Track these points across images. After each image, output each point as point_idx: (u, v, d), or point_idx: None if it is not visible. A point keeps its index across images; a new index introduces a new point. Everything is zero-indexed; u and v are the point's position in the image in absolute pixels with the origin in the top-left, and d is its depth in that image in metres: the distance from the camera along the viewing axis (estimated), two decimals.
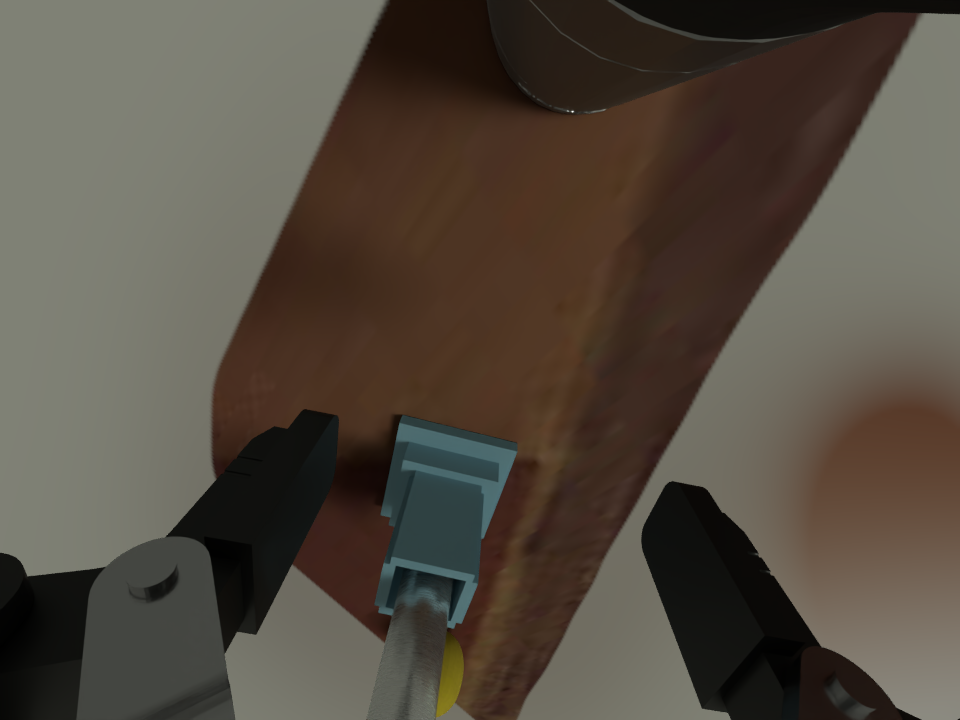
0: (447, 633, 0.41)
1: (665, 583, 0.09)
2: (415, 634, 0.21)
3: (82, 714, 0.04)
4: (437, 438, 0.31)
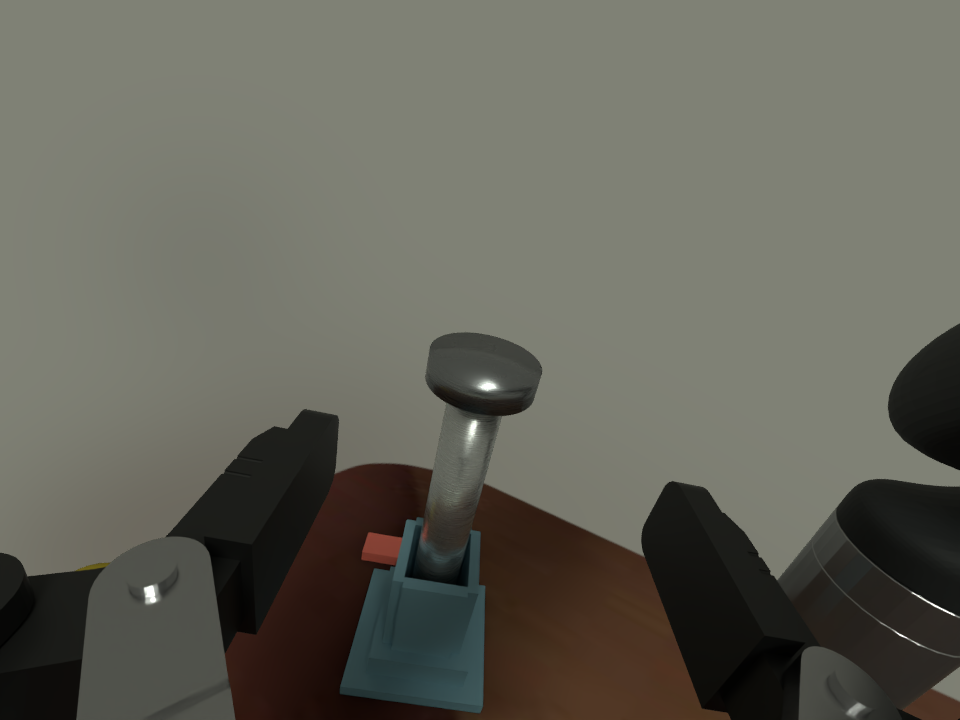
0: None
1: (665, 583, 0.09)
2: None
3: (82, 714, 0.04)
4: (477, 618, 0.34)
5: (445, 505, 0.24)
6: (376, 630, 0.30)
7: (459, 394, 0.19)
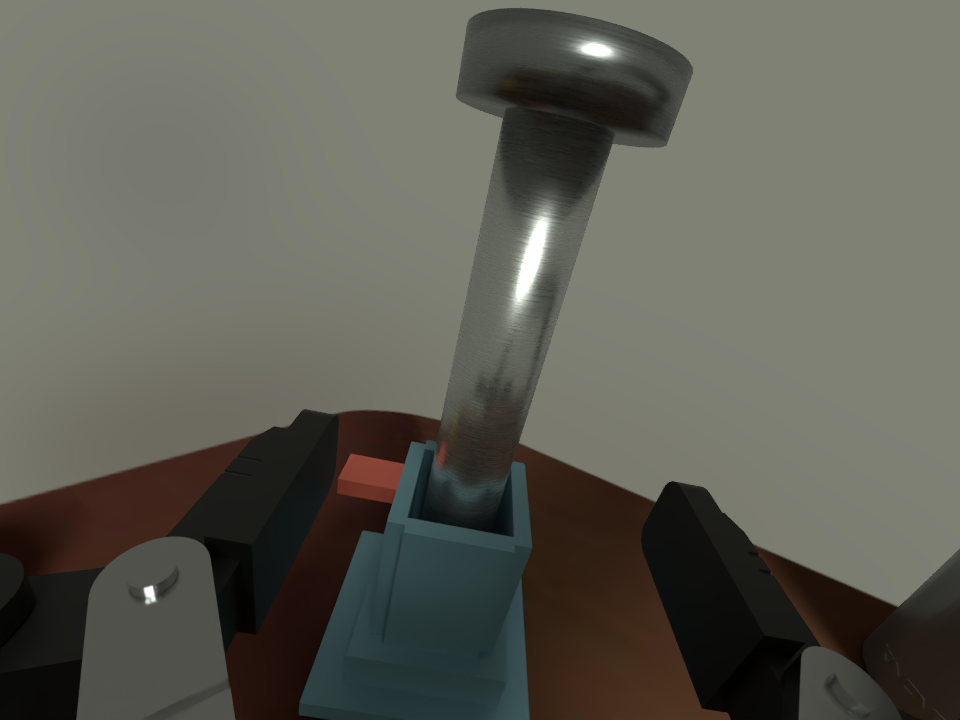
0: None
1: (665, 583, 0.09)
2: None
3: (83, 713, 0.04)
4: (513, 603, 0.23)
5: (483, 378, 0.14)
6: (361, 613, 0.19)
7: (538, 59, 0.09)
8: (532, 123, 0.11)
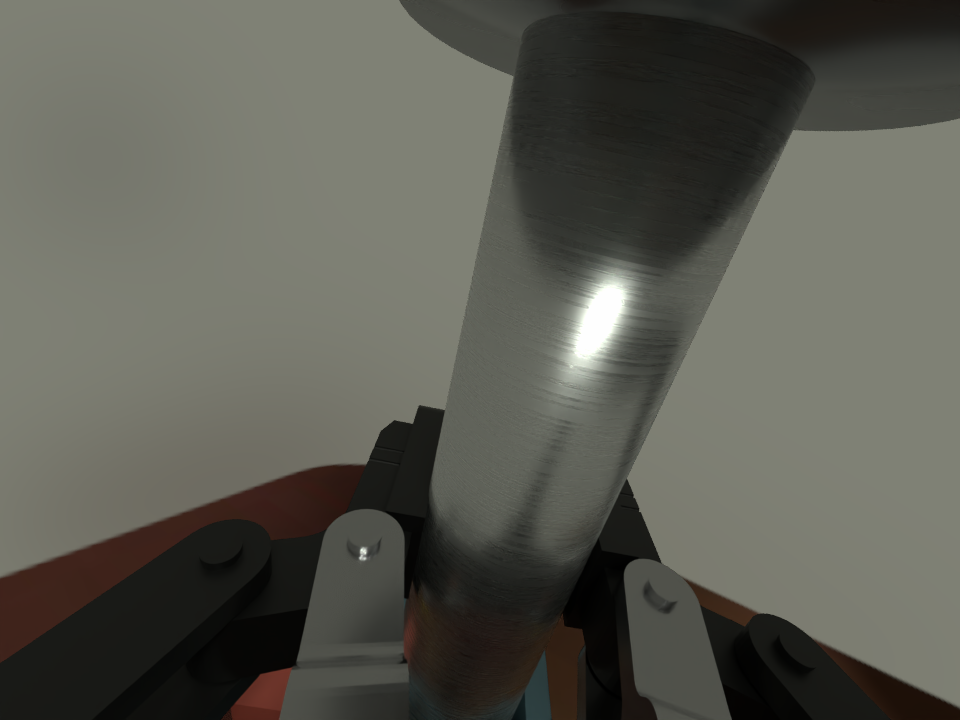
0: None
1: None
2: None
3: (307, 630, 0.05)
4: None
5: (474, 602, 0.07)
6: None
7: None
8: (607, 54, 0.04)
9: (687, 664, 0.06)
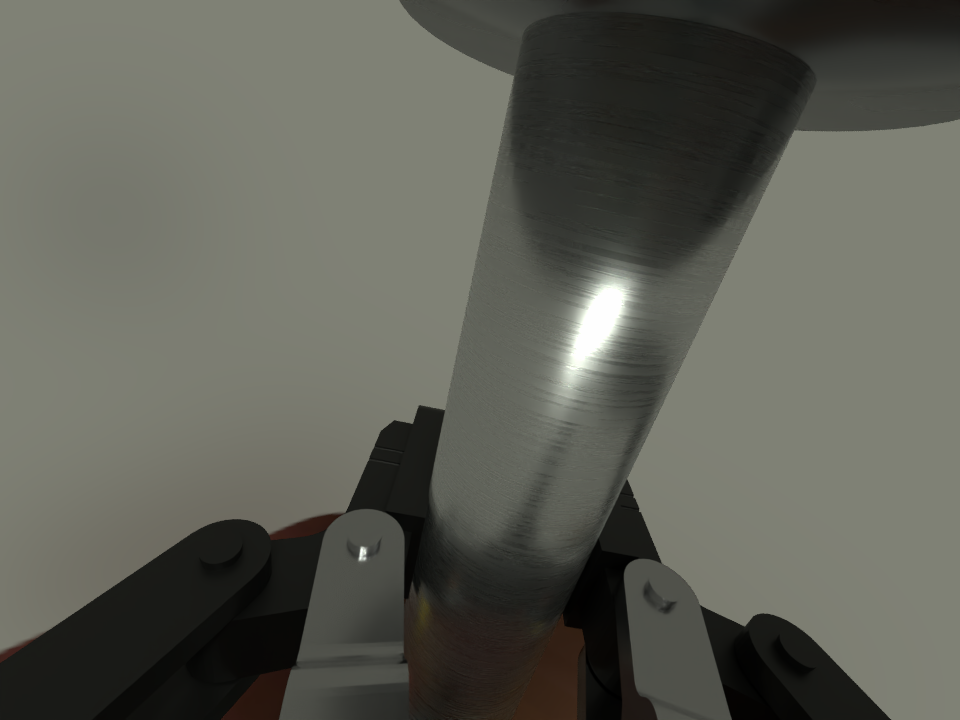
0: None
1: None
2: None
3: (307, 631, 0.05)
4: None
5: (473, 602, 0.07)
6: None
7: None
8: (608, 54, 0.04)
9: (686, 665, 0.06)
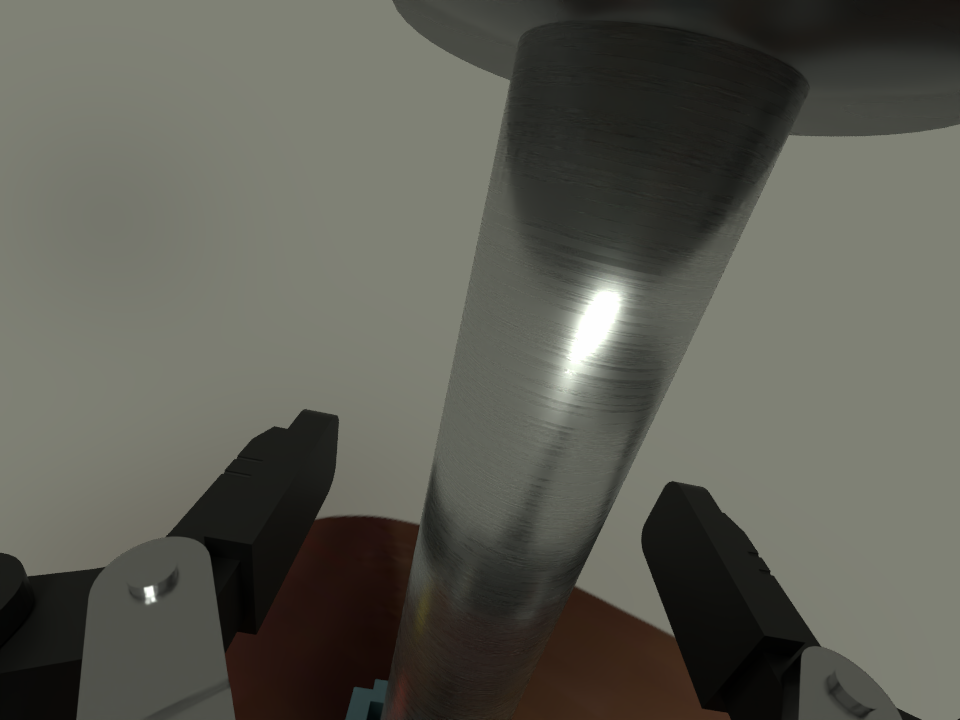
0: None
1: (665, 583, 0.09)
2: None
3: (81, 714, 0.04)
4: None
5: (471, 606, 0.07)
6: None
7: None
8: (602, 62, 0.04)
9: None
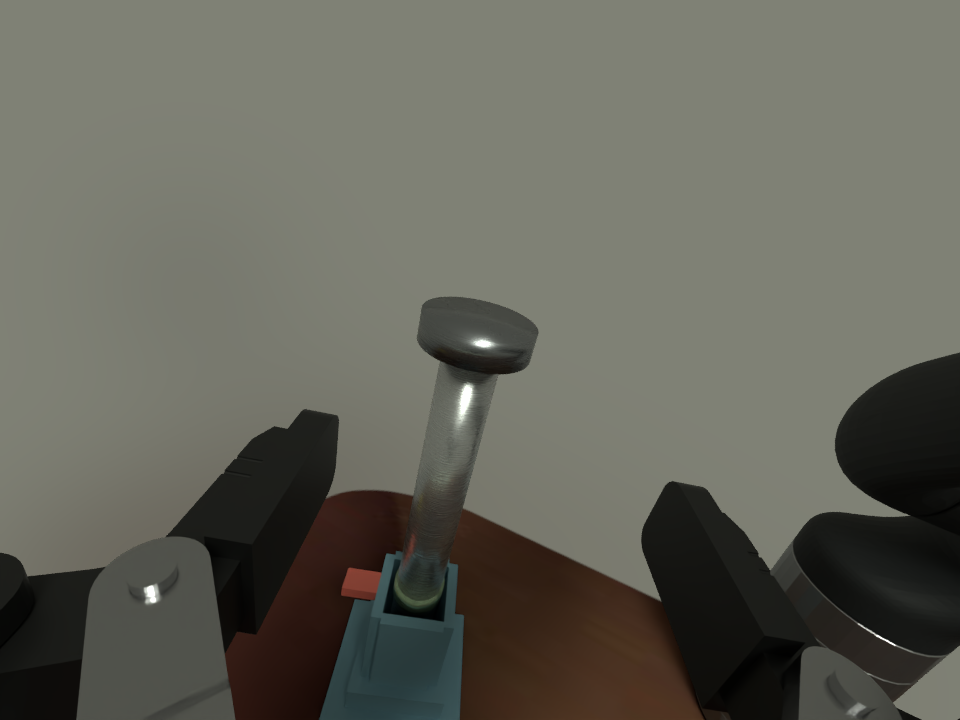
0: None
1: (665, 583, 0.09)
2: None
3: (83, 713, 0.04)
4: (455, 648, 0.35)
5: (436, 477, 0.23)
6: (355, 663, 0.31)
7: (453, 350, 0.19)
8: None
9: None
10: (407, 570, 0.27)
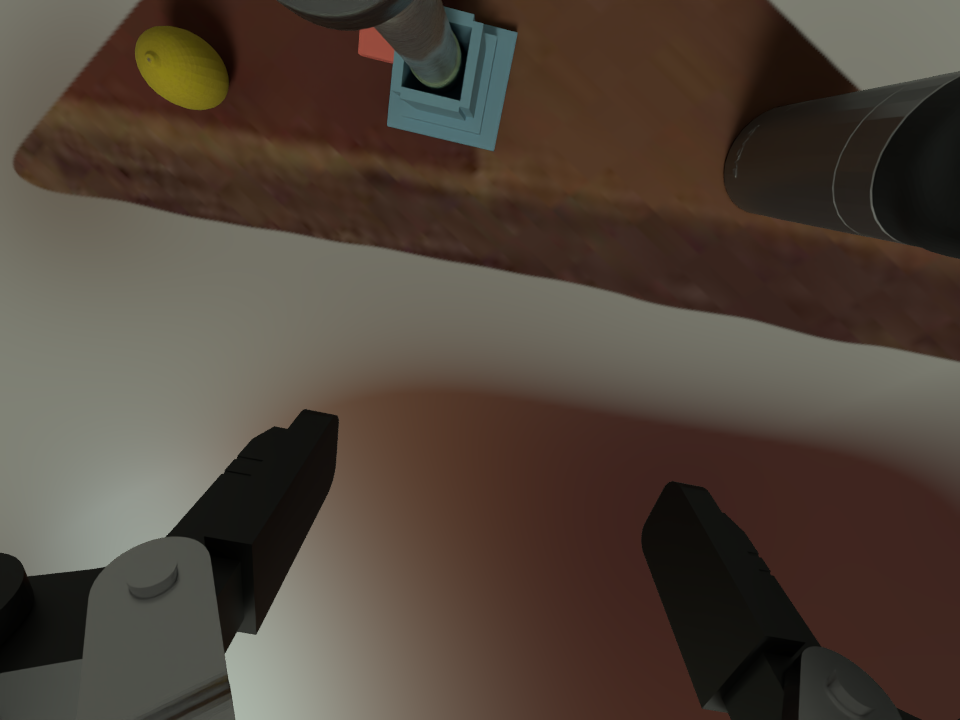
0: None
1: (665, 583, 0.09)
2: (444, 21, 0.20)
3: (82, 714, 0.04)
4: (502, 73, 0.36)
5: (383, 35, 0.18)
6: None
7: None
8: None
9: None
10: None
